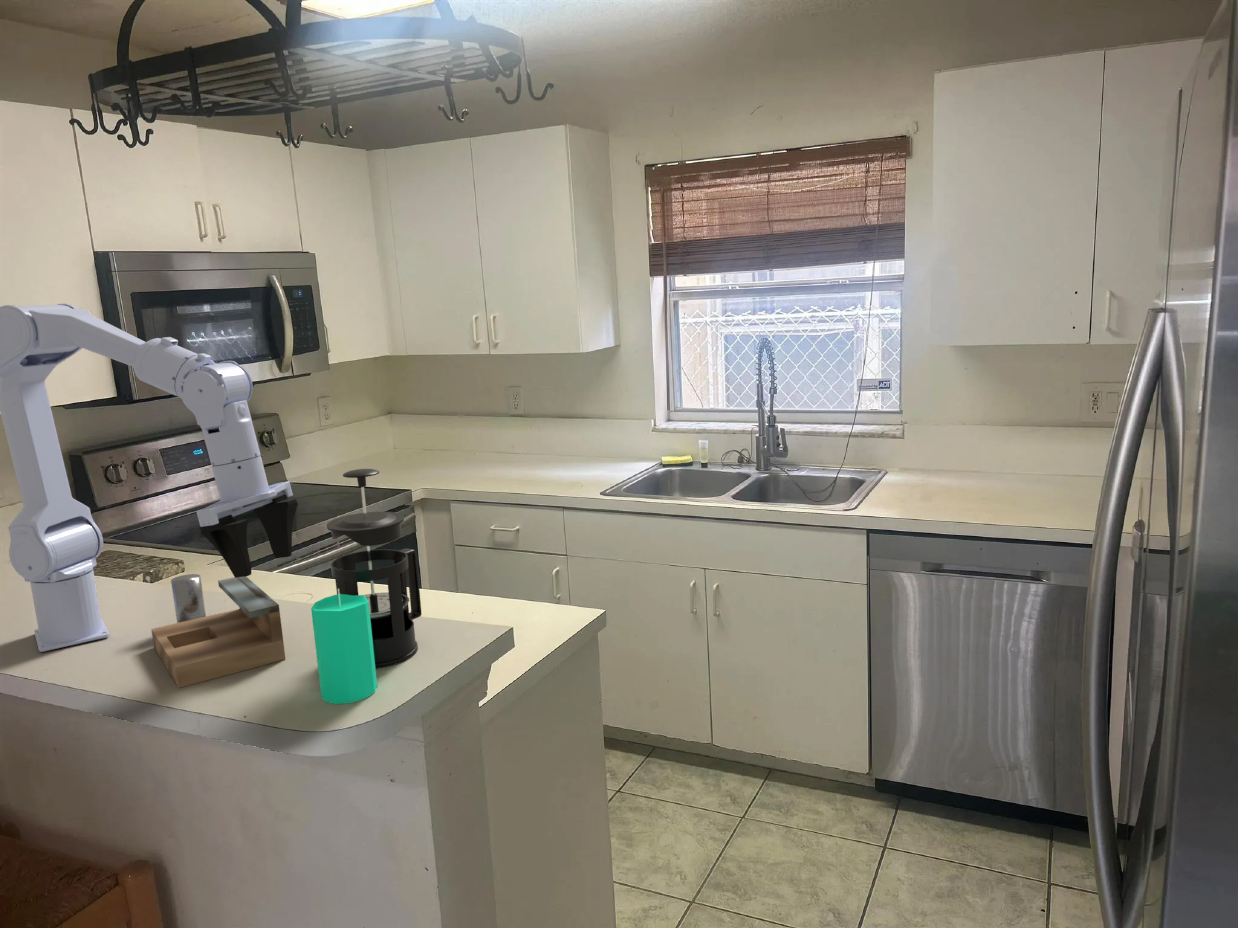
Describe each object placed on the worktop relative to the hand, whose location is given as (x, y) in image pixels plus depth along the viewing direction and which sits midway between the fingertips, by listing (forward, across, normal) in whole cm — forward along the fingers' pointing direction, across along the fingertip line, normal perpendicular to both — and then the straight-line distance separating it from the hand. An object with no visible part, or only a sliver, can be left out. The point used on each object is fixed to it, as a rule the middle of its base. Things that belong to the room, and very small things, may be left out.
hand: (264, 566), depth 112 cm
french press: (+13, +1, -13) cm, 19 cm away
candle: (+13, -10, -16) cm, 23 cm away
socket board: (+10, -4, +7) cm, 12 cm away
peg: (+8, +3, +17) cm, 20 cm away
